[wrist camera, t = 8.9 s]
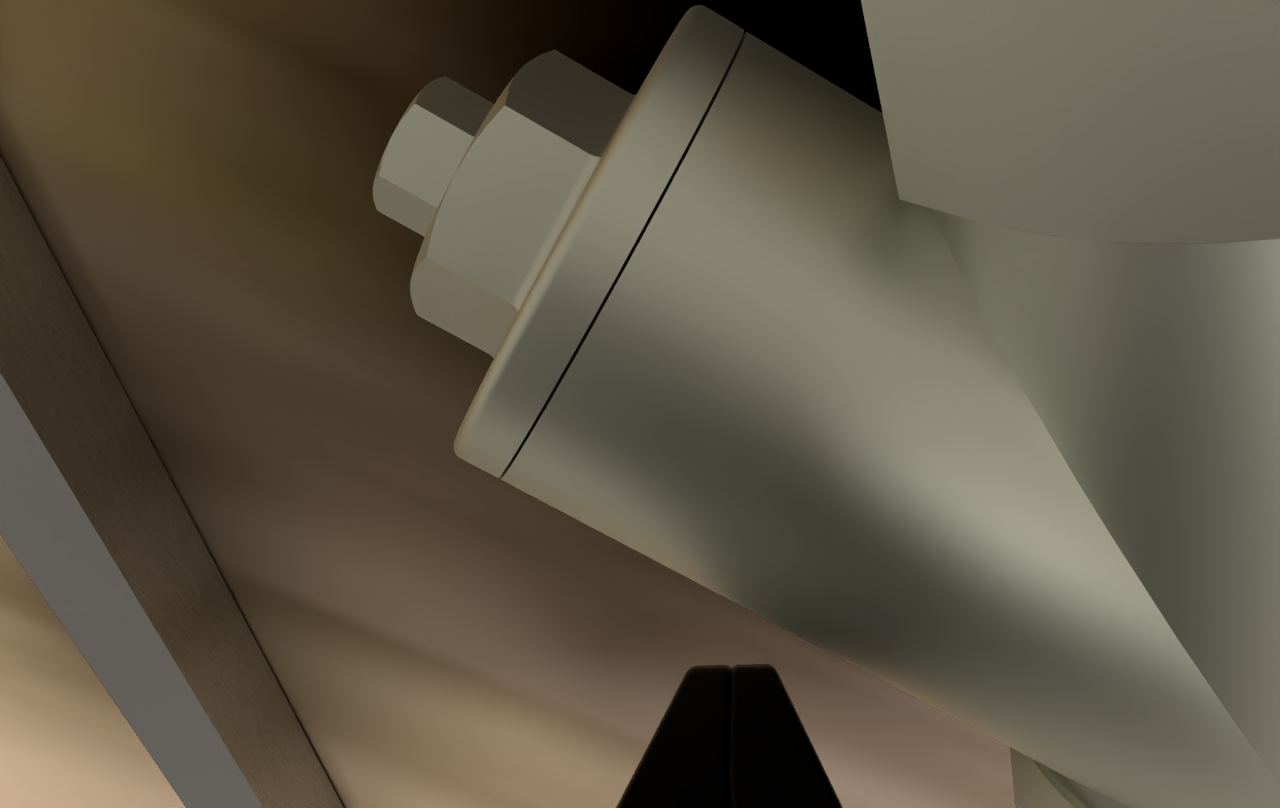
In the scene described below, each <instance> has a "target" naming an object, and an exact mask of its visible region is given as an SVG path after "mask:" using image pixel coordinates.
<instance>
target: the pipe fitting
mask: <svg viewBox="0 0 1280 808" xmlns="http://www.w3.org/2000/svg"><path fill="white" fill-rule="evenodd" d="M861 3H862V9H863V14H864V19H865V24H866V29H867V35H868V40H869V45H870V50H871V55H872V61H873V66H874V71H875V76H876V81H877V87H878V92H879V97H880V102H881V107H882V113H881V112H879V111H878V110H876V109H874V108H873V107H871V106H869V105H868V104H866V103H864V102H863V101H861V100H859V99H858V98H856V97H854V96H853V95H851V94H849V93H848V92H846V91H844V90H843V89H841V88H839V87H838V86H836V85H834V84H833V83H831V82H829V81H828V80H826V79H824V78H823V77H821V76H819V75H818V74H816V73H815V72H813V71H811V70H810V69H808V68H806V67H805V66H803V65H801V64H800V63H798V62H796V61H795V60H793V59H791V58H790V57H788V56H786V55H785V54H783V53H781V52H780V51H778V50H776V49H775V48H773V47H771V46H770V45H768V44H766V43H765V42H763V41H761V40H760V39H758V38H756V37H755V36H753V35H751V34H750V33H748V32H745V34H744V30H743V29H742V28H740V27H739V26H737V25H735V24H734V23H732V22H730V21H729V20H727V19H726V18H724V17H722V16H721V15H719V14H717V13H715V12H714V11H712V10H710V9H709V8H707V7H705V6H702V5H696V6H693V7H691V8H690V9H689V10H688V11H687V12H686V13H685V15H684V16H683V18H682V19H681V21H680V22H679V24H678V25H677V27H676V28H675V30H674V32H673V33H672V35H671V36H670V38H669V40H668V41H667V43H666V45H665V46H664V48H663V50H662V51H661V53H660V55H659V56H658V58H657V60H656V62H655V63H654V65H653V67H652V68H651V70H650V72H649V74H648V75H647V77H646V79H645V81H644V82H643V84H642V86H641V88H640V89H639V91H638V93H637V95H633V94H630V93H628V92H627V91H625V90H623V89H621V88H620V87H618V86H616V85H615V84H613V83H611V82H609V81H608V80H606V79H604V78H603V77H601V76H599V75H597V74H596V73H594V72H592V71H591V70H589V69H587V68H586V67H584V66H582V65H580V64H579V63H577V62H575V61H574V60H572V59H570V58H568V57H567V56H565V55H563V54H562V53H560V52H558V51H556V50H555V49H554V50H552V51H549V52H547V53H544V54H542V55H540V56H538V57H535V58H534V59H532V60H531V61H529V62H528V63H526V64H525V65H524V66H523V67H522V68H521V69H520V70H519V71H518V72H517V74H516V75H515V76H514V77H513V78H512V80H511V81H510V82H509V84H508V85H507V86H506V88H505V89H504V91H503V92H502V93H501V95H500V96H499V98H498V99H497V101H496V102H495V104H493V103H492V102H490V101H488V100H486V99H485V98H483V97H481V96H479V95H478V94H476V93H474V92H472V91H471V90H469V89H467V88H466V87H464V86H462V85H460V84H459V83H457V82H455V81H453V80H452V79H450V78H448V77H446V76H443V77H441V78H438V79H435V80H433V81H432V82H430V83H429V84H427V85H426V86H425V87H424V88H423V89H422V90H421V91H420V92H419V93H418V94H417V96H416V97H415V98H414V99H413V101H412V102H411V104H410V105H409V107H408V108H407V110H406V111H405V113H404V114H403V116H402V118H401V119H400V121H399V123H398V125H397V127H396V129H395V130H394V132H393V134H392V136H391V138H390V140H389V142H388V145H387V147H386V149H385V151H384V153H383V156H382V158H381V161H380V163H379V166H378V169H377V172H376V175H375V179H374V184H373V200H374V203H375V206H376V209H377V211H379V212H380V213H382V214H384V215H386V216H388V217H390V218H391V219H393V220H395V221H397V222H399V223H400V224H402V225H404V226H406V227H408V228H409V229H411V230H413V231H415V232H417V233H419V234H420V235H422V236H424V237H425V238H424V240H423V243H422V245H421V248H420V251H419V253H418V256H417V259H416V262H415V265H414V269H413V272H412V276H411V281H410V293H411V299H412V303H413V307H414V309H415V312H416V315H418V316H420V317H421V318H423V319H425V320H427V321H429V322H431V323H433V324H434V325H436V326H438V327H440V328H442V329H444V330H445V331H447V332H449V333H451V334H453V335H455V336H457V337H458V338H460V339H462V340H464V341H466V342H468V343H469V344H471V345H473V346H475V347H477V348H479V349H481V350H482V351H484V352H486V353H488V354H490V355H491V356H492V357H493V358H494V359H493V361H492V363H491V365H490V367H489V369H488V371H487V373H486V375H485V377H484V379H483V381H482V383H481V385H480V387H479V389H478V391H477V393H476V395H475V397H474V399H473V401H472V403H471V405H470V407H469V409H468V411H467V413H466V415H465V418H464V420H463V422H462V424H461V426H460V429H459V431H458V433H457V436H456V438H455V441H454V451H455V453H456V455H457V456H458V457H459V458H461V459H463V460H465V461H466V462H468V463H470V464H472V465H474V466H476V467H478V468H480V469H482V470H484V471H485V472H487V473H489V474H491V475H493V476H495V477H497V478H499V477H500V476H501V480H503V481H504V482H506V483H508V484H510V485H512V486H514V487H516V488H518V489H520V490H522V491H523V492H525V493H527V494H529V495H531V496H533V497H535V498H537V499H539V500H541V501H543V502H544V503H546V504H548V505H550V506H552V507H554V508H556V509H558V510H560V511H562V512H563V513H565V514H567V515H569V516H571V517H573V518H575V519H577V520H579V521H581V522H582V523H584V524H586V525H588V526H590V527H592V528H594V529H596V530H598V531H600V532H602V533H603V534H605V535H607V536H609V537H611V538H613V539H615V540H617V541H619V542H621V543H622V544H624V545H626V546H628V547H630V548H632V549H634V550H636V551H638V552H640V553H641V554H643V555H645V556H647V557H649V558H651V559H653V560H655V561H657V562H659V563H660V564H662V565H664V566H666V567H668V568H670V569H672V570H674V571H676V572H678V573H680V574H681V575H683V576H685V577H687V578H689V579H691V580H693V581H695V582H697V583H699V584H700V585H702V586H704V587H706V588H708V589H710V590H712V591H714V592H716V593H718V594H719V595H721V596H723V597H725V598H727V599H729V600H731V601H733V602H735V603H737V604H738V605H740V606H742V607H744V608H746V609H748V610H750V611H752V612H754V613H756V614H758V615H759V616H761V617H763V618H765V619H767V620H769V621H771V622H773V623H775V624H777V625H778V626H780V627H782V628H784V629H786V630H788V631H790V632H792V633H794V634H796V635H797V636H799V637H801V638H803V639H805V640H807V641H809V642H811V643H813V644H815V645H816V646H818V647H820V648H822V649H824V650H826V651H828V652H830V653H832V654H834V655H836V656H837V657H839V658H841V659H843V660H845V661H847V662H849V663H851V664H853V665H855V666H856V667H858V668H860V669H862V670H864V671H866V672H868V673H870V674H872V675H874V676H875V677H877V678H879V679H881V680H883V681H885V682H887V683H889V684H891V685H893V686H894V687H896V688H898V689H900V690H902V691H904V692H906V693H908V694H910V695H912V696H914V697H915V698H917V699H919V700H921V701H923V702H925V703H927V704H929V705H931V706H933V707H934V708H936V709H938V710H940V711H942V712H944V713H946V714H948V715H950V716H952V717H953V718H955V719H957V720H959V721H961V722H963V723H965V724H967V725H969V726H971V727H972V728H974V729H976V730H978V731H980V732H982V733H984V734H986V735H988V736H990V737H992V738H993V739H995V740H997V741H999V742H1001V743H1003V744H1005V745H1007V746H1009V747H1010V750H1011V761H1012V773H1013V784H1014V796H1015V804H1016V808H1280V0H861ZM743 34H744V35H743Z"/></svg>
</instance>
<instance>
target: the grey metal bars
mask: <svg viewBox="0 0 1280 808" xmlns="http://www.w3.org/2000/svg"><path fill="white" fill-rule="evenodd" d="M0 534H1V535H2V537H3V538H4V540H5V541H6V543H7V544H8V546H9V547H10V549H11V550H12V552H13V553H14V555H15V556H16V558H17V559H18V561H19V562H20V563H21V565H22V566H23V568H24V569H25V571H26V572H27V574H28V575H29V577H30V578H31V580H32V581H33V583H34V584H35V586H36V587H37V589H38V590H39V591H40V593H41V594H42V596H43V597H44V599H45V600H46V602H47V603H48V605H49V606H50V608H51V609H52V611H53V612H54V614H55V615H56V617H57V618H58V620H59V621H60V622H61V624H62V625H63V627H64V628H65V630H66V631H67V633H68V634H69V636H70V637H71V639H72V640H73V642H74V643H75V645H76V646H77V648H78V649H79V650H80V652H81V653H82V655H83V656H84V658H85V659H86V661H87V662H88V664H89V665H90V667H91V668H92V670H93V671H94V673H95V674H96V676H97V677H98V678H99V680H100V681H101V683H102V684H103V686H104V687H105V689H106V690H107V692H108V693H109V695H110V696H111V698H112V699H113V701H114V702H115V704H116V705H117V706H118V708H119V709H120V711H121V712H122V714H123V715H124V717H125V718H126V720H127V721H128V723H129V724H130V726H131V727H132V729H133V730H134V732H135V733H136V735H137V736H138V737H139V739H140V740H141V742H142V743H143V745H144V746H145V748H146V749H147V751H148V752H149V754H150V755H151V757H152V758H153V760H154V761H155V763H156V764H157V765H158V767H159V768H160V770H161V771H162V773H163V774H164V776H165V777H166V779H167V780H168V782H169V783H170V785H171V786H172V788H173V789H174V791H175V792H176V793H177V795H178V796H179V798H180V799H181V801H182V802H183V804H184V805H185V807H186V808H343V806H342V804H341V802H340V800H339V798H338V796H337V794H336V792H335V790H334V789H333V787H332V785H331V783H330V781H329V779H328V777H327V775H326V773H325V771H324V770H323V768H322V766H321V764H320V762H319V760H318V758H317V756H316V754H315V752H314V751H313V749H312V747H311V745H310V743H309V741H308V739H307V737H306V735H305V734H304V732H303V730H302V728H301V726H300V724H299V722H298V720H297V718H296V716H295V715H294V713H293V711H292V709H291V707H290V705H289V703H288V701H287V699H286V697H285V696H284V694H283V692H282V690H281V688H280V686H279V684H278V682H277V680H276V678H275V677H274V675H273V673H272V671H271V669H270V667H269V665H268V663H267V661H266V660H265V658H264V656H263V654H262V652H261V650H260V648H259V646H258V644H257V642H256V641H255V639H254V637H253V635H252V633H251V631H250V629H249V627H248V625H247V623H246V622H245V620H244V618H243V616H242V614H241V612H240V610H239V608H238V606H237V604H236V603H235V601H234V599H233V597H232V595H231V593H230V591H229V589H228V587H227V586H226V584H225V582H224V580H223V578H222V576H221V574H220V572H219V570H218V568H217V567H216V565H215V563H214V561H213V559H212V557H211V555H210V553H209V551H208V549H207V548H206V546H205V544H204V542H203V540H202V538H201V536H200V534H199V532H198V530H197V529H196V527H195V525H194V523H193V521H192V519H191V517H190V515H189V513H188V512H187V510H186V508H185V506H184V504H183V502H182V500H181V498H180V496H179V494H178V493H177V491H176V489H175V487H174V485H173V483H172V481H171V479H170V477H169V475H168V474H167V472H166V470H165V468H164V466H163V464H162V462H161V460H160V458H159V457H158V455H157V453H156V451H155V449H154V447H153V445H152V443H151V441H150V439H149V438H148V436H147V434H146V432H145V430H144V428H143V426H142V424H141V422H140V420H139V419H138V417H137V415H136V413H135V411H134V409H133V407H132V405H131V403H130V401H129V400H128V398H127V396H126V394H125V392H124V390H123V388H122V386H121V384H120V383H119V381H118V379H117V377H116V375H115V373H114V371H113V369H112V367H111V365H110V364H109V362H108V360H107V358H106V356H105V354H104V352H103V350H102V348H101V346H100V345H99V343H98V341H97V339H96V337H95V335H94V333H93V331H92V329H91V327H90V326H89V324H88V322H87V320H86V318H85V316H84V314H83V312H82V310H81V309H80V307H79V305H78V303H77V301H76V299H75V297H74V295H73V293H72V291H71V290H70V288H69V286H68V284H67V282H66V280H65V278H64V276H63V274H62V272H61V271H60V269H59V267H58V265H57V263H56V261H55V259H54V257H53V255H52V253H51V252H50V250H49V248H48V246H47V244H46V242H45V240H44V238H43V236H42V235H41V233H40V231H39V229H38V227H37V225H36V223H35V221H34V219H33V217H32V216H31V214H30V212H29V210H28V208H27V206H26V204H25V202H24V200H23V198H22V197H21V195H20V193H19V191H18V189H17V187H16V185H15V183H14V181H13V179H12V178H11V176H10V174H9V172H8V170H7V168H6V166H5V164H4V162H3V161H2V159H1V157H0Z"/></svg>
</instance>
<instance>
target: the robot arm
mask: <svg viewBox="0 0 1280 808" xmlns="http://www.w3.org/2000/svg"><path fill="white" fill-rule="evenodd" d="M616 808H843V807H842V805H841V803H840V801H839V799H838V797H837V795H836V793H835V791H834V789H833V787H832V784H831V782H830V780H829V778H828V776H827V774H826V772H825V770H824V768H823V766H822V764H821V762H820V759H819V757H818V755H817V753H816V751H815V749H814V747H813V745H812V743H811V741H810V739H809V737H808V735H807V732H806V730H805V728H804V726H803V724H802V722H801V720H800V718H799V716H798V714H797V712H796V710H795V707H794V705H793V703H792V701H791V699H790V697H789V695H788V693H787V691H786V689H785V687H784V685H783V683H782V680H781V678H780V676H779V674H778V672H777V671H776V669H775V668H774V667H773V666H772V665H770V664H744V665H736V666H734V667H733V668H731V667H729V666H726V665H705V666H693V667H692V668H690V669H689V670H688V671H687V673H686V674H685V676H684V678H683V680H682V682H681V684H680V685H679V687H678V689H677V691H676V693H675V695H674V697H673V699H672V701H671V703H670V705H669V707H668V709H667V711H666V712H665V714H664V716H663V718H662V720H661V722H660V724H659V726H658V728H657V730H656V732H655V734H654V736H653V738H652V739H651V741H650V743H649V745H648V747H647V749H646V751H645V753H644V755H643V757H642V759H641V761H640V763H639V765H638V766H637V768H636V770H635V772H634V774H633V776H632V778H631V780H630V782H629V784H628V786H627V788H626V790H625V792H624V793H623V795H622V797H621V799H620V801H619V803H618V805H617V807H616Z"/></svg>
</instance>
